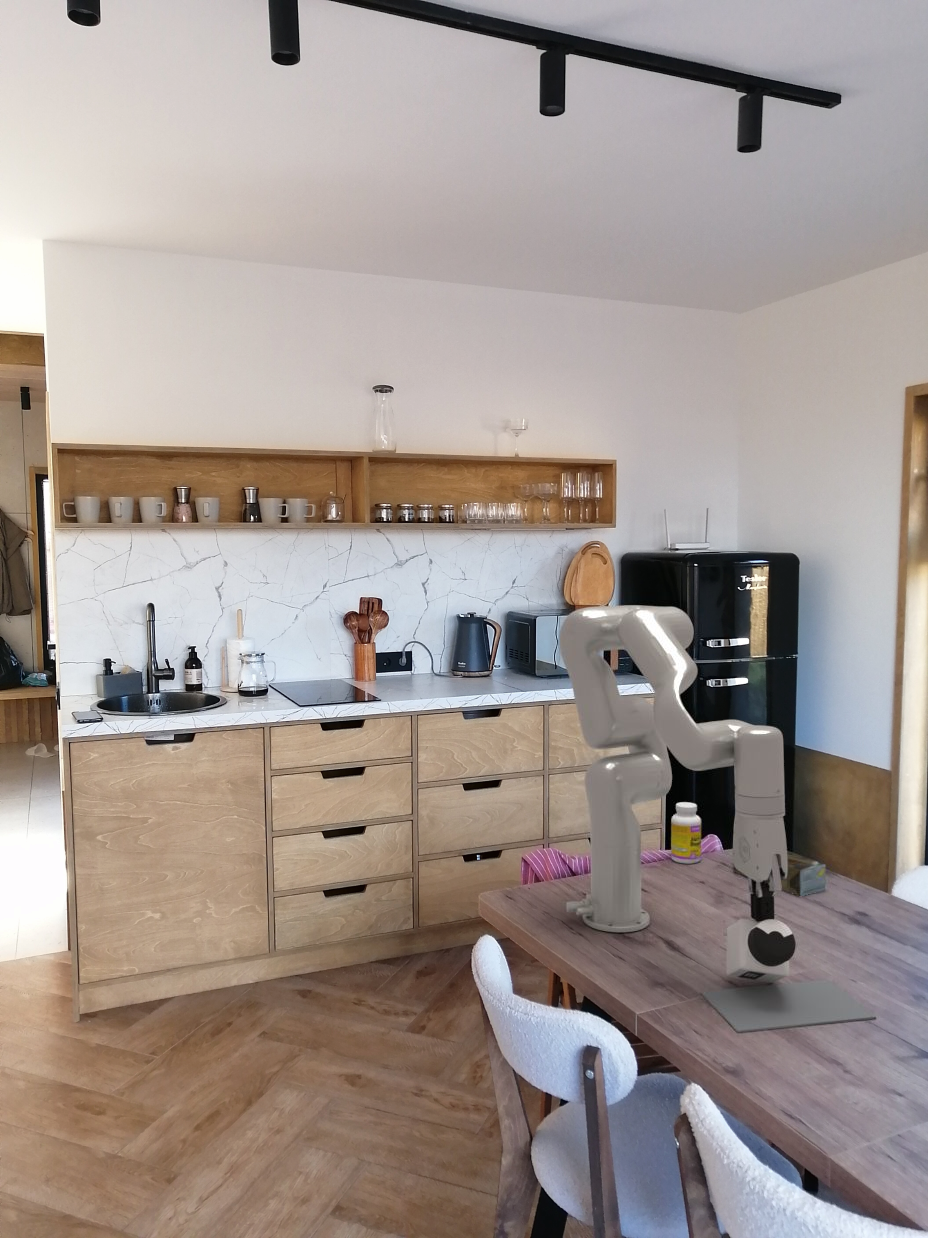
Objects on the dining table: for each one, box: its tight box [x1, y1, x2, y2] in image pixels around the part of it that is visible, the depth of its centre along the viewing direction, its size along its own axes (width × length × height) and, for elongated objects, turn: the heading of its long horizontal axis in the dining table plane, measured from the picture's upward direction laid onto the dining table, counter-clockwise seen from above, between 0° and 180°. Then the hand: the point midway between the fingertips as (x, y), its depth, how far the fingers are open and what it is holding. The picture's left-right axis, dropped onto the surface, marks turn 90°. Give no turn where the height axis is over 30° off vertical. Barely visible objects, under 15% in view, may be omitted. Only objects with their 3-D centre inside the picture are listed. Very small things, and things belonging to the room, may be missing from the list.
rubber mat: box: [700, 979, 877, 1034], centre depth 147 cm, size 22×13×1 cm, turn 100°
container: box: [726, 918, 797, 984], centre depth 151 cm, size 8×8×13 cm
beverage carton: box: [732, 850, 827, 897], centre depth 204 cm, size 8×19×7 cm, turn 29°
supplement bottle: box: [670, 801, 702, 865], centre depth 219 cm, size 7×7×13 cm
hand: (762, 919), depth 153 cm, fingers closed
